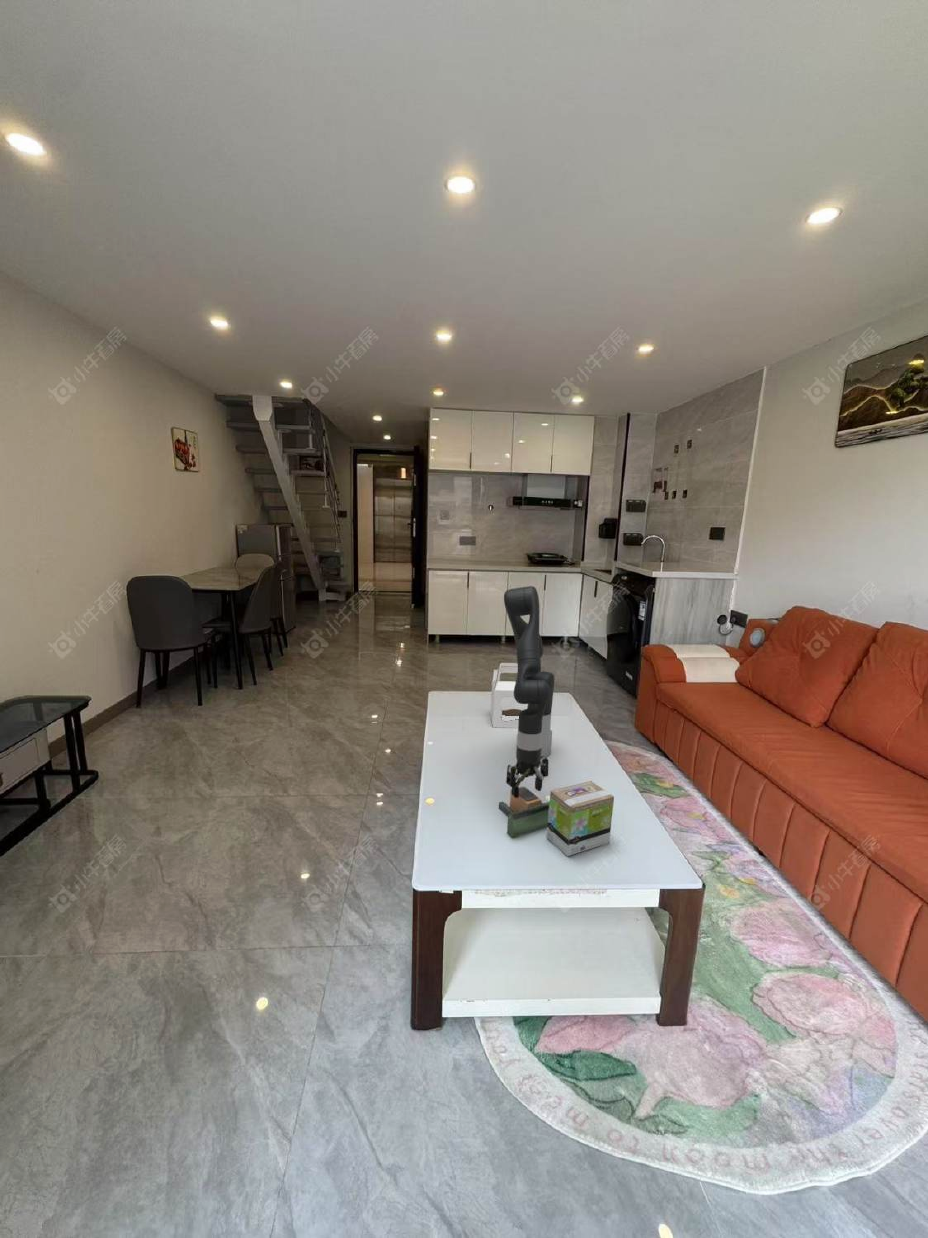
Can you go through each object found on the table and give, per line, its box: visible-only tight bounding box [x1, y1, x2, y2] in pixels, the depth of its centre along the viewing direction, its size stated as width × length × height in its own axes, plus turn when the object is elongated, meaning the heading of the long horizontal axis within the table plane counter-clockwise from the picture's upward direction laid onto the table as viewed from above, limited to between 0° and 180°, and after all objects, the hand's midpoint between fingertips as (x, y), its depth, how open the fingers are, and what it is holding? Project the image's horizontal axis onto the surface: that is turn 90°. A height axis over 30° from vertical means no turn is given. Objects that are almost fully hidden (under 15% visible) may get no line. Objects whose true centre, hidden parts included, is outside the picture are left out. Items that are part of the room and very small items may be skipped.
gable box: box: [490, 662, 543, 729], centre depth 224 cm, size 22×13×28 cm, turn 91°
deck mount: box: [498, 800, 550, 839], centre depth 152 cm, size 22×15×7 cm
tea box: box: [546, 780, 615, 857], centre depth 139 cm, size 15×10×15 cm, turn 117°
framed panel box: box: [509, 786, 542, 812], centre depth 154 cm, size 5×9×6 cm, turn 29°
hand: (526, 793), depth 153 cm, fingers open, 8 cm apart
